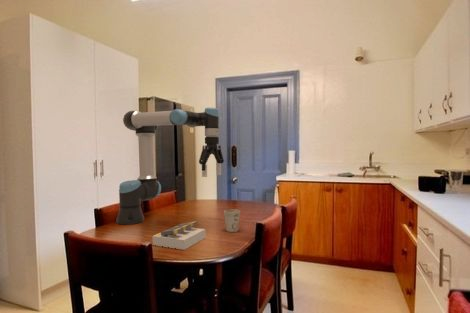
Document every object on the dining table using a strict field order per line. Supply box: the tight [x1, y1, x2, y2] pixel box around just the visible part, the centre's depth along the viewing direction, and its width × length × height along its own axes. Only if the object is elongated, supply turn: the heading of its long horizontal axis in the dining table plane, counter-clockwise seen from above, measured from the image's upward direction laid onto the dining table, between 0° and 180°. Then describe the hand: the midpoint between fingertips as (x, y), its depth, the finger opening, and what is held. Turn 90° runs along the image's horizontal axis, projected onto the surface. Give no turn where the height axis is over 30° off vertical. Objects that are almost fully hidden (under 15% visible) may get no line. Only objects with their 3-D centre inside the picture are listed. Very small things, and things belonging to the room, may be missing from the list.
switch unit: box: [152, 225, 206, 251], centre depth 132 cm, size 16×18×5 cm
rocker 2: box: [168, 224, 192, 230], centre depth 132 cm, size 9×4×1 cm, turn 67°
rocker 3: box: [176, 220, 199, 228], centre depth 138 cm, size 9×4×1 cm, turn 67°
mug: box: [223, 208, 241, 233], centre depth 152 cm, size 8×13×10 cm, turn 27°
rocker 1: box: [160, 227, 184, 236], centre depth 126 cm, size 9×4×1 cm, turn 67°
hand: (212, 175), depth 159 cm, fingers open, 13 cm apart
